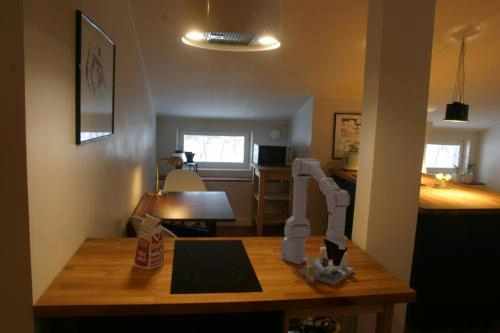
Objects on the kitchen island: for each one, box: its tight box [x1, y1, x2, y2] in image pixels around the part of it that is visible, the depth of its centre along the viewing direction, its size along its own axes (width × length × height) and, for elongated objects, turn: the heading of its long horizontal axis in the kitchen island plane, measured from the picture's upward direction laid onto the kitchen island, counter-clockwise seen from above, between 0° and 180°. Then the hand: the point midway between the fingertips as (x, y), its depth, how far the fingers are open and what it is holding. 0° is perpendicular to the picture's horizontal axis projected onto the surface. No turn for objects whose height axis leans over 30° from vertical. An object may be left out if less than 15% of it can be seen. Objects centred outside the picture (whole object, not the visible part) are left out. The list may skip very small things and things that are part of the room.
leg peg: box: [305, 265, 316, 285], centre depth 134 cm, size 3×3×6 cm
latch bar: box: [324, 263, 342, 275], centre depth 138 cm, size 9×2×2 cm, turn 141°
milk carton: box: [132, 213, 166, 271], centre depth 144 cm, size 9×9×20 cm
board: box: [298, 246, 354, 286], centre depth 144 cm, size 15×17×8 cm
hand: (333, 262), depth 130 cm, fingers open, 5 cm apart
